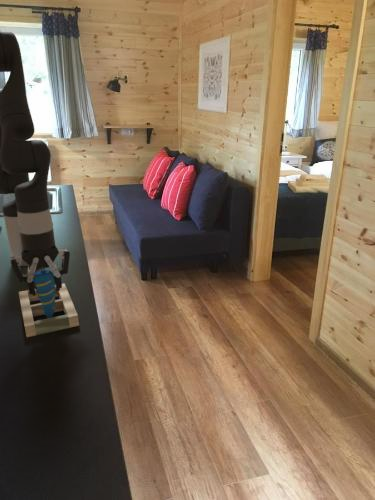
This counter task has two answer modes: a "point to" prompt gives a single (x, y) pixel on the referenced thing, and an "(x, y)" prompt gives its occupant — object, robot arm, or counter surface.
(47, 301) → the ornament
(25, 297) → the wooden frame
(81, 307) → the counter surface
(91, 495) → the counter surface
